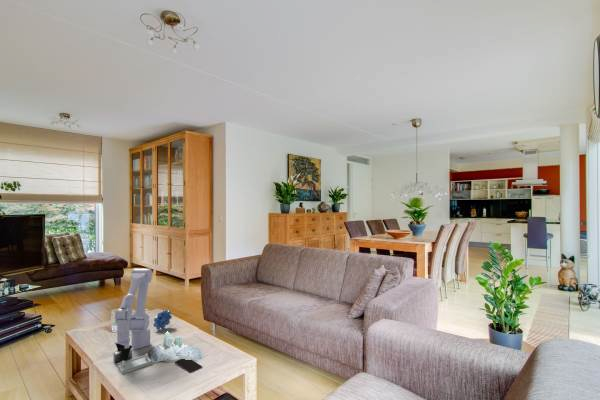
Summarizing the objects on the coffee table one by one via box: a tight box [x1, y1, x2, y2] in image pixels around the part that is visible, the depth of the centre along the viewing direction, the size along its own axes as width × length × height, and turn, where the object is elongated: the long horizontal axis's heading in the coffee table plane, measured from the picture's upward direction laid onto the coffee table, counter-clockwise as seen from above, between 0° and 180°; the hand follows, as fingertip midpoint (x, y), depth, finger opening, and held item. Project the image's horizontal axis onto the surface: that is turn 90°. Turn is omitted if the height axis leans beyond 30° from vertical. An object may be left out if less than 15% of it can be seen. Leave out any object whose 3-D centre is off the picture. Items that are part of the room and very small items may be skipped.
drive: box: [113, 348, 134, 365], centre depth 164 cm, size 8×4×5 cm, turn 133°
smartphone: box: [174, 358, 203, 374], centre depth 160 cm, size 7×1×15 cm
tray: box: [116, 353, 153, 375], centre depth 159 cm, size 14×9×4 cm, turn 133°
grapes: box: [153, 309, 173, 331], centre depth 205 cm, size 12×7×12 cm, turn 135°
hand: (123, 357), depth 164 cm, fingers open, 7 cm apart
